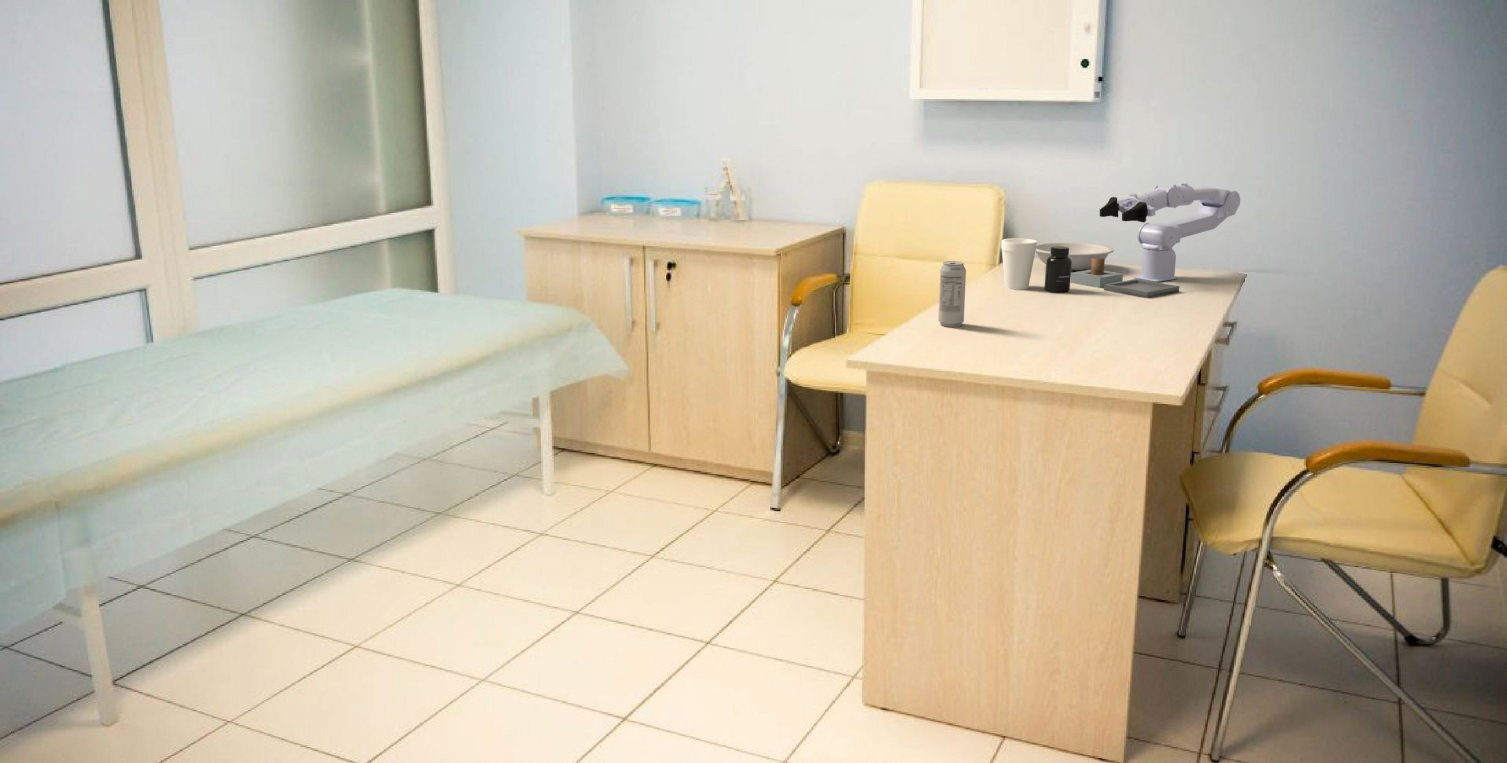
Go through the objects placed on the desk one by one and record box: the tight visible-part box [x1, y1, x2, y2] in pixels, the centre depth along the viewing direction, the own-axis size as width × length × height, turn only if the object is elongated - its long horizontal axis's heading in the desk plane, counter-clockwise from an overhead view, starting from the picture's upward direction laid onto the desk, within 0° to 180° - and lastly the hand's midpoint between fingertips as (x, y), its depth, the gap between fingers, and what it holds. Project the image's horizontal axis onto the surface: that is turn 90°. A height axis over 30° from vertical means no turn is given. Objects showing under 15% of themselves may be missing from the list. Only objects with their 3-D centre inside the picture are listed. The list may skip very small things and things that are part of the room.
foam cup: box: [1000, 237, 1038, 291], centre depth 342 cm, size 10×9×13 cm
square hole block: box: [1070, 269, 1124, 289], centre depth 350 cm, size 10×10×3 cm
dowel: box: [1090, 258, 1106, 275], centre depth 349 cm, size 4×4×7 cm
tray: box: [1103, 278, 1180, 299], centre depth 338 cm, size 14×14×2 cm
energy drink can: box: [938, 260, 967, 328], centre depth 296 cm, size 6×6×15 cm
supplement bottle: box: [1043, 246, 1072, 294], centre depth 337 cm, size 7×7×12 cm
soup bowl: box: [1035, 241, 1115, 272], centre depth 371 cm, size 24×24×7 cm
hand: (1111, 215), depth 340 cm, fingers open, 7 cm apart
